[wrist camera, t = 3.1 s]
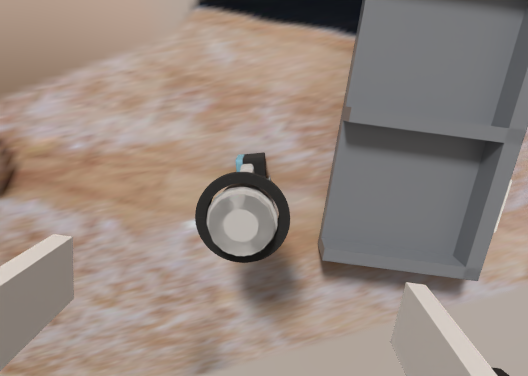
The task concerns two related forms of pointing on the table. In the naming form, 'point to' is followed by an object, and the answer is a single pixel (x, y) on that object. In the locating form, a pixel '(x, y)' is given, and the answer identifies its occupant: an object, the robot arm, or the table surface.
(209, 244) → the push button
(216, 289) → the table surface
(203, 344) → the table surface
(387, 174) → the gray divided compartment tray
